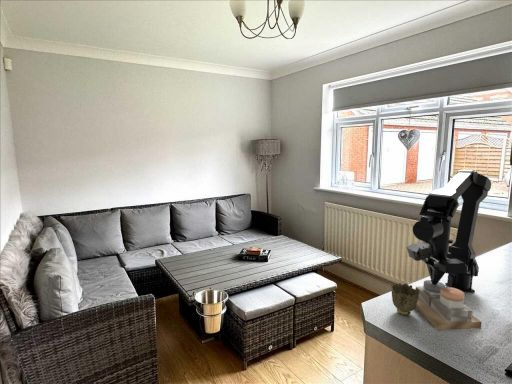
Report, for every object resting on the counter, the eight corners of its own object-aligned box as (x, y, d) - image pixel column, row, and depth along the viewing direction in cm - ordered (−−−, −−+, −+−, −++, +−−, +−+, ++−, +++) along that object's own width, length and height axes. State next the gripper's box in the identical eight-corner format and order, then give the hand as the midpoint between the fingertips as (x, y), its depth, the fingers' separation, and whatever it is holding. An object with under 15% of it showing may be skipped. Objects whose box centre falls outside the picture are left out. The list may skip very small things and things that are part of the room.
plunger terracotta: (453, 301, 89) (455, 286, 88) (467, 311, 83) (469, 296, 83) (435, 301, 89) (436, 287, 88) (447, 311, 83) (449, 296, 82)
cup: (384, 309, 93) (385, 284, 92) (402, 305, 95) (404, 281, 94) (403, 322, 86) (405, 296, 85) (423, 317, 88) (425, 291, 87)
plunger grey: (436, 293, 97) (437, 279, 96) (447, 301, 91) (449, 288, 91) (418, 293, 97) (420, 280, 96) (429, 302, 91) (430, 288, 91)
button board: (442, 299, 99) (444, 285, 98) (480, 328, 83) (482, 311, 82) (406, 300, 98) (407, 285, 98) (437, 330, 82) (439, 312, 82)
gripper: (396, 227, 100) (393, 272, 102) (431, 245, 82) (426, 299, 84) (429, 226, 101) (425, 271, 103) (471, 244, 82) (466, 298, 84)
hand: (434, 284), depth 94 cm, fingers closed, pressing on plunger grey
